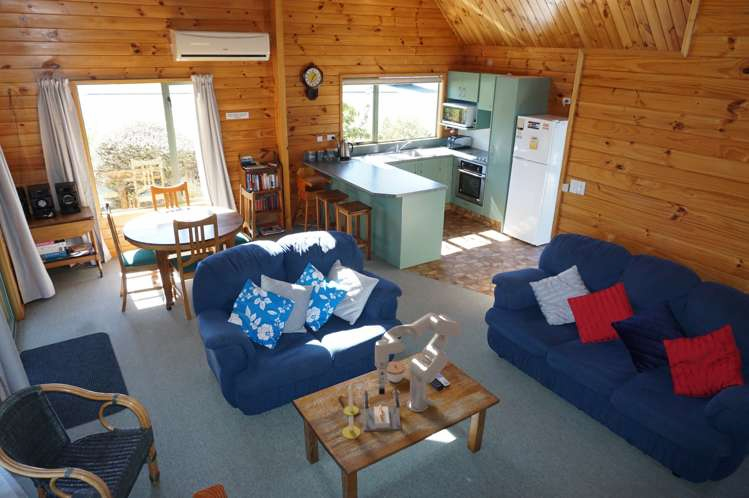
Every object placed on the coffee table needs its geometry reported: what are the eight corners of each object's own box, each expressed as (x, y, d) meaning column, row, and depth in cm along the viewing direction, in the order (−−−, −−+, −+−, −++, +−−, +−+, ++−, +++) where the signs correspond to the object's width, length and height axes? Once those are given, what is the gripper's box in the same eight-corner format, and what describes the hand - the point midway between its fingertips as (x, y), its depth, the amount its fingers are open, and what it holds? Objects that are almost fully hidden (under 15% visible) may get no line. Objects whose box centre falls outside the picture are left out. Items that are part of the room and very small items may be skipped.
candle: (346, 441, 274) (344, 391, 262) (339, 429, 282) (338, 380, 270) (363, 435, 278) (362, 386, 266) (356, 424, 286) (355, 375, 274)
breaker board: (398, 410, 297) (398, 388, 291) (401, 429, 282) (401, 407, 276) (363, 411, 296) (362, 389, 290) (363, 431, 281) (363, 408, 275)
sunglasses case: (362, 414, 294) (357, 407, 290) (353, 422, 293) (347, 415, 289) (351, 396, 309) (345, 389, 306) (342, 403, 308) (336, 397, 305)
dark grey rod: (367, 392, 290) (367, 390, 290) (368, 409, 277) (368, 407, 276) (364, 392, 290) (364, 390, 290) (365, 409, 277) (365, 407, 276)
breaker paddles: (382, 409, 291) (380, 404, 290) (383, 419, 283) (381, 414, 282) (380, 409, 291) (378, 405, 290) (380, 419, 283) (379, 415, 282)
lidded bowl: (384, 373, 330) (384, 359, 326) (403, 372, 331) (403, 358, 327) (386, 385, 318) (386, 371, 314) (406, 384, 320) (406, 369, 315)
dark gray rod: (397, 391, 291) (397, 389, 290) (399, 408, 277) (399, 405, 277) (394, 391, 291) (394, 389, 290) (396, 408, 277) (396, 406, 277)
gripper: (389, 371, 267) (389, 398, 273) (387, 353, 283) (386, 378, 289) (375, 371, 266) (375, 398, 272) (373, 353, 282) (373, 379, 288)
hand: (381, 388), depth 281 cm, fingers open, 9 cm apart
